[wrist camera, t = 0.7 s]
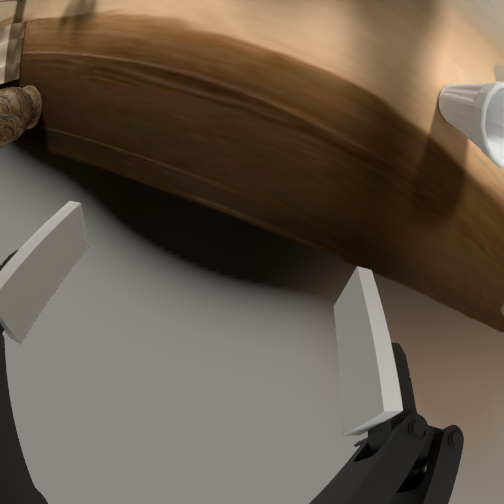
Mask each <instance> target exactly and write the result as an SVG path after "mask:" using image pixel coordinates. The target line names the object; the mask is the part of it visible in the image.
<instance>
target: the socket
mask: <svg viewBox="0 0 504 504" xmlns="http://www.w3.org/2000/svg"><path fill="white" fill-rule="evenodd" d="M25 27H26V22H23V23H13V24H10V25H8V26H6V27H4V28H2V29H0V84H2V83H6V82H9V81H13V80H16V79H19V71H20V60H21V52H22V44H23V38H24V32H25Z"/></svg>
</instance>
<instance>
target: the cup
mask: <svg viewBox="0 0 504 504" xmlns="http://www.w3.org/2000/svg"><path fill="white" fill-rule="evenodd" d="M439 108H440V112H441V114H442V116H443V117H444V119H445V120H446V121H447V122H449V123H450V124H451V125H453V126H454V127H455V128H457V129H458V130H459V131H460V132H462V133H463V134H464V135H465V136H466V137H468V138H469V139H470V140H471V141H472V142H473V143H475V144H476V145H477V146H478V147H479V148H480V149H481V150H482V152H483V153H484V154H485V155H486V156H487V157H489V158H490V159H491V160H492V161H493V162H494V163H495V164H496V165H497V166H498V167H500V168H504V82H493V83H487V84H456V85H455V84H450V85H446V86H445V87H444V88H443V89H442V90H441V93H440V95H439Z"/></svg>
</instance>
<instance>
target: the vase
mask: <svg viewBox="0 0 504 504" xmlns="http://www.w3.org/2000/svg"><path fill="white" fill-rule="evenodd" d="M41 110H42V101H41V97H40V94H39V92H38V90H37V89H36V88H35V87H34V86H26V87H24V88H23V89H22V88H20V87H8V88H4V89H1V90H0V148H1V147H3V146H5V145H7V144H9V143H11V142H12V141H14V140H15V139H17V138H18V137H19V136H21V135H22V134H23V132H24V131H25V130H26V129H30V128H33V127H34V126H35V125H36V124H37V122H38V120H39V118H40V115H41Z"/></svg>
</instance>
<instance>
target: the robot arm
mask: <svg viewBox="0 0 504 504" xmlns="http://www.w3.org/2000/svg"><path fill="white" fill-rule="evenodd" d="M88 248H89V247H88V241H87V236H86V231H85V225H84V219H83V213H82V207H81V203H78V202H73V201H69V202H68V203H67V204H66V205H65V206H63V207H62V208H61V209H60V210H59V211H58V212H57V213H56V214H55V215H54V216H52V217H51V218H50V219H49V220H48V221H47V222H46V223H45V224H44V225H43V226H42V227H41V228H40V229H39V230H38V231H37V232H36V233H35V234H34V235H33V236H32V237H31V238H30V239H29V240H28V241H27V242H26V243H25V244H24V245H23V246H22V247H21V248H20V249H19V250H17V251H15V252H14V253H12V254H11V255H9V256H8V258H7V259H6V260H5V261H4V262H3V264H2V265H1V266H0V504H48V503H47V501H46V499H45V498H44V496H43V495H42V494H41V493H40V492H39V491H38V490H37V489H36V488H35V486H34V484H33V482H32V479H31V477H30V474H29V471H28V469H27V466H26V463H25V459H24V457H23V453H22V450H21V446H20V443H19V439H18V435H17V431H16V427H15V422H14V418H13V413H12V407H11V402H10V396H9V389H8V381H7V373H6V361H5V344H4V336H3V334H2V333H3V331H4V330H5V331H6V333H7V334H8V336H9V337H10V338H11V339H13V340H14V341H16V342H17V343H19V344H21V343H22V342H23V340H24V338H25V337H26V335H27V333H28V332H29V330H30V329H31V327H32V325H33V324H34V322H35V321H36V319H37V317H38V316H39V314H40V313H41V311H42V310H43V308H44V307H45V305H46V304H47V302H48V301H49V300H50V298H51V297H52V295H53V294H54V292H55V291H56V290H57V288H58V287H59V285H60V284H61V283H62V281H63V280H64V279H65V277H66V276H67V275H68V273H69V272H70V271H71V269H72V268H73V267H74V265H75V264H76V263H77V262H78V260H79V259H80V258H81V257H82V256H83V254H84V253H85V252H86V250H87V249H88ZM334 316H335V325H336V334H337V346H338V358H339V372H340V389H341V410H342V436H345V435H346V436H349V435H361V434H363V433H365V432H366V431H368V437H367V438H366V439H363V440H361V441H359V442H357V443H356V444H355V446H356V447H357V446H359V445H360V447H359V448H358V449H357V451H356V452H355V453H354V454H353V456H352V457H351V458H350V459H349V461H348V462H347V463H346V464H345V466H344V467H343V468H342V469H341V470H340V471H339V473H338V474H337V475H336V476H335V477H334V478H333V479H332V480H331V482H330V483H329V484H328V485H327V486H326V487H325V488H324V489H323V490H322V491H321V492H320V493H319V494H318V495H317V496H316V497H315V498H314V499H313V500H312V501H311V503H309V504H448V502H449V499H450V496H451V493H452V490H453V486H454V483H455V479H456V475H457V472H458V467H459V463H460V459H461V454H462V449H463V443H464V437H463V433H462V431H461V430H460V428H459V427H457V426H456V425H451V426H448V427H447V428H445V429H443V430H442V429H439V428H435V427H432V426H429V425H428V424H427V422H426V420H425V419H424V418H423V416H421V415H419V414H417V411H416V407H415V400H414V395H413V389H412V384H411V379H410V377H409V375H410V373H409V369H408V368H407V367H408V364H407V360H406V355H405V353H404V351H403V350H402V348H401V346H400V344H399V343H391V341H390V336H389V332H388V328H387V324H386V320H385V316H384V312H383V308H382V304H381V301H380V297H379V294H378V290H377V287H376V283H375V280H374V276H373V273H372V270H370V269H366V268H362V267H358V266H357V267H356V269H355V271H354V273H353V274H352V276H351V278H350V280H349V281H348V283H347V285H346V287H345V288H344V290H343V292H342V293H341V295H340V297H339V299H338V300H337V302H336V304H335V305H334ZM426 466H427V468H426V471H425V467H426Z"/></svg>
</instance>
